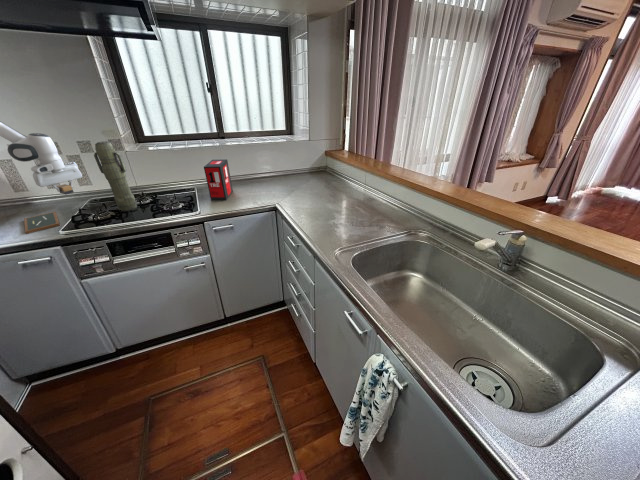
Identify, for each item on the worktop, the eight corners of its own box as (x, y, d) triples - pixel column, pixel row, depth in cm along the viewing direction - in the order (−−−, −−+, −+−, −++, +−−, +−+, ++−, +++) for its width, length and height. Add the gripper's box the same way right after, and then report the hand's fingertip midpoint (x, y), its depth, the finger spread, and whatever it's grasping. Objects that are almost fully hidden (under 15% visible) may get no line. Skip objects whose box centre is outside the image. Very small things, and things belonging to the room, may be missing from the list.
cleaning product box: (226, 200, 158) (219, 166, 148) (211, 200, 157) (203, 166, 147) (232, 190, 172) (227, 159, 162) (218, 191, 172) (212, 159, 162)
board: (25, 220, 135) (23, 218, 135) (56, 213, 143) (55, 211, 142) (26, 233, 123) (24, 231, 122) (60, 225, 130) (58, 223, 130)
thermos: (137, 210, 146) (112, 143, 128) (113, 212, 144) (84, 144, 126) (142, 204, 153) (119, 140, 136) (119, 206, 151) (93, 141, 133)
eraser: (59, 193, 151) (56, 186, 149) (68, 190, 154) (64, 184, 152) (65, 194, 149) (62, 187, 147) (74, 192, 152) (70, 185, 150)
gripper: (72, 160, 153) (82, 183, 160) (26, 169, 137) (40, 194, 144) (78, 161, 151) (89, 185, 158) (32, 170, 135) (46, 196, 142)
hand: (65, 189), depth 151 cm, fingers closed on eraser, 4 cm apart
